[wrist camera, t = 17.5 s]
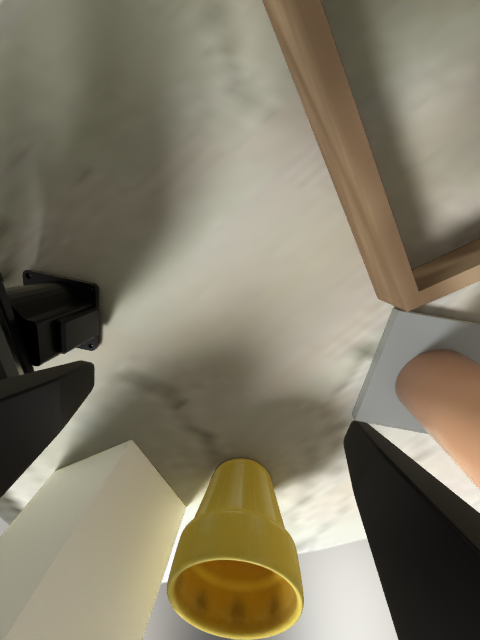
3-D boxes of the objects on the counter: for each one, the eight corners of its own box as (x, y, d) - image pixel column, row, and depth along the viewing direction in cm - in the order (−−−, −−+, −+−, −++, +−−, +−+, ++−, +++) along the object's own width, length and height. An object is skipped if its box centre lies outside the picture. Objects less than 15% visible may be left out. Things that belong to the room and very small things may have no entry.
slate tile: (351, 414, 23) (355, 420, 22) (393, 308, 19) (398, 310, 19) (463, 435, 23) (470, 441, 22) (525, 331, 19) (536, 335, 18)
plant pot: (233, 427, 24) (218, 538, 15) (307, 476, 26) (335, 607, 17) (180, 480, 27) (141, 601, 18) (249, 522, 29) (245, 655, 20)
